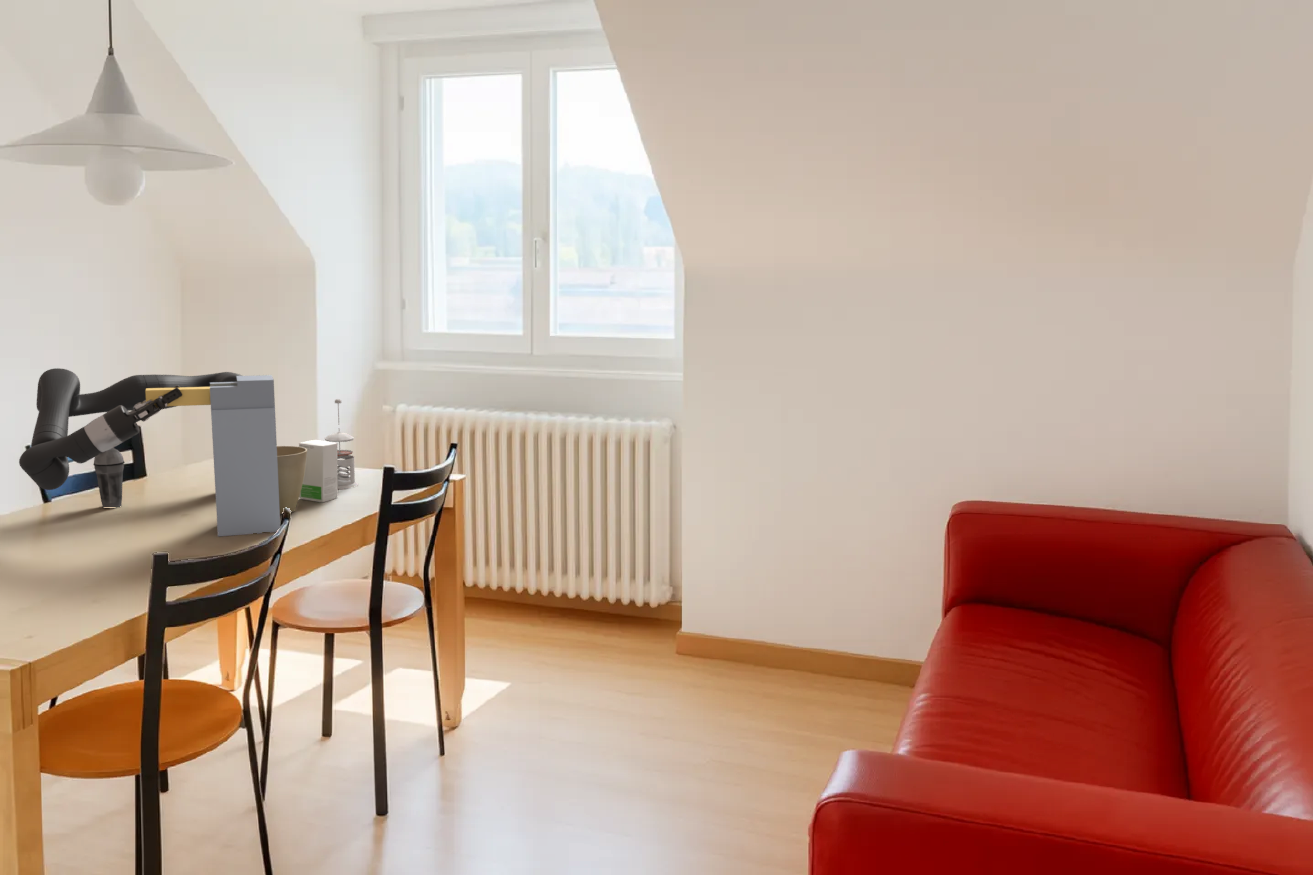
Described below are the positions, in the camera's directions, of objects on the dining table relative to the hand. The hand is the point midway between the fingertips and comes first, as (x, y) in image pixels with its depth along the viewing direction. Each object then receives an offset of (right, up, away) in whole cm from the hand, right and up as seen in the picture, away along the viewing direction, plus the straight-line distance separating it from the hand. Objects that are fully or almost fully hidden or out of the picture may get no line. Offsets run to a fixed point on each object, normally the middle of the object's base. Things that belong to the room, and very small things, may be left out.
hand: (180, 390), depth 257 cm
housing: (+12, -33, +11) cm, 37 cm away
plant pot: (+13, -30, +28) cm, 43 cm away
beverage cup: (-31, -29, +30) cm, 52 cm away
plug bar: (+4, -3, +2) cm, 6 cm away
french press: (+19, -25, +60) cm, 67 cm away
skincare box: (+19, -28, +43) cm, 55 cm away
